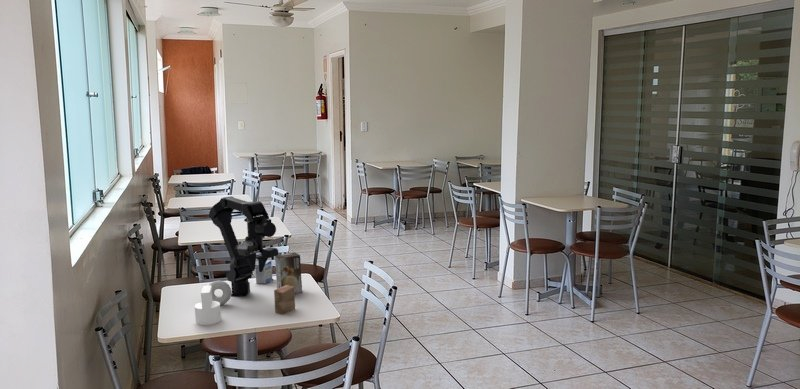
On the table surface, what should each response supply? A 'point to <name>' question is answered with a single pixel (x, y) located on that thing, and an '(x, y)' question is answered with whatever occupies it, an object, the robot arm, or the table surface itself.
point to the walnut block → (284, 299)
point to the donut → (224, 288)
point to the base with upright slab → (207, 308)
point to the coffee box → (288, 271)
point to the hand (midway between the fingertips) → (257, 271)
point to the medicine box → (264, 273)
